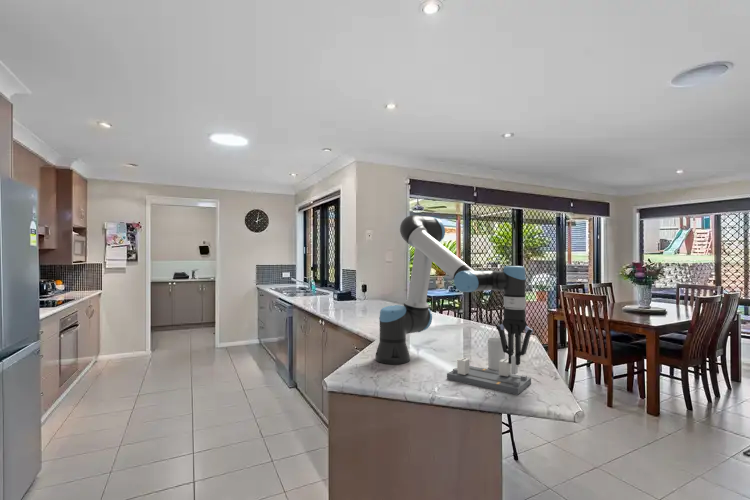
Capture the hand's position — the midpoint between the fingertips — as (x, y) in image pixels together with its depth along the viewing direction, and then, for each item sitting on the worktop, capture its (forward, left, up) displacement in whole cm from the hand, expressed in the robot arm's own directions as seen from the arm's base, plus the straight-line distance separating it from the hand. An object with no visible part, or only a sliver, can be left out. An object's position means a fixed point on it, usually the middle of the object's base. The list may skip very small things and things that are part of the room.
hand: (514, 373), depth 137 cm
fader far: (-3, 0, -1) cm, 4 cm away
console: (-8, -4, -4) cm, 10 cm away
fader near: (-16, -8, -1) cm, 18 cm away
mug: (-12, +15, -4) cm, 20 cm away
